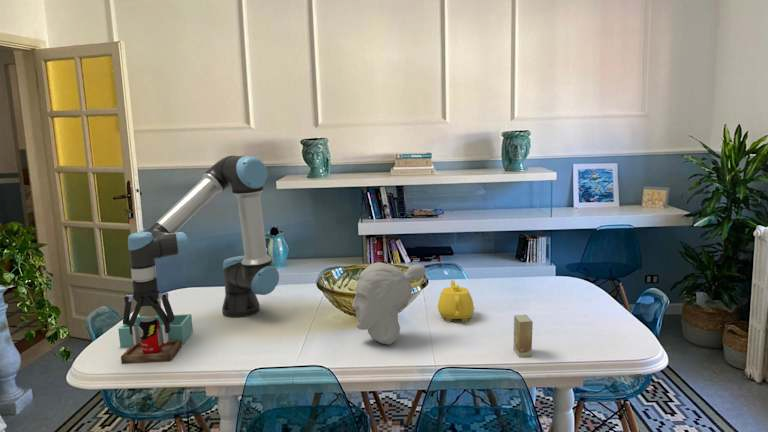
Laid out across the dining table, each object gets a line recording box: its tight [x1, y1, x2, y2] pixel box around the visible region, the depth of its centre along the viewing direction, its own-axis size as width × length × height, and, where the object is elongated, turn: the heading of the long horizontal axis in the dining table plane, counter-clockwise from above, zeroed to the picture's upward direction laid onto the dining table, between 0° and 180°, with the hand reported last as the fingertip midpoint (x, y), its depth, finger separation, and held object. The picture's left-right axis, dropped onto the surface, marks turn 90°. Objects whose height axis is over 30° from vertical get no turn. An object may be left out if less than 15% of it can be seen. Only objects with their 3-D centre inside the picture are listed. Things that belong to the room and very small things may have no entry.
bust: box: [351, 261, 426, 345], centre depth 196 cm, size 15×26×28 cm, turn 99°
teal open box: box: [118, 313, 194, 348], centre depth 204 cm, size 22×12×7 cm, turn 93°
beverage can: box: [139, 316, 162, 354], centre depth 190 cm, size 6×6×12 cm
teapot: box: [437, 279, 475, 323], centre depth 218 cm, size 14×20×13 cm
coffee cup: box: [138, 290, 162, 317], centre depth 217 cm, size 9×9×15 cm
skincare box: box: [513, 314, 534, 358], centre depth 183 cm, size 6×4×12 cm
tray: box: [120, 340, 183, 364], centre depth 191 cm, size 16×12×2 cm
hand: (151, 342), depth 191 cm, fingers open, 9 cm apart
